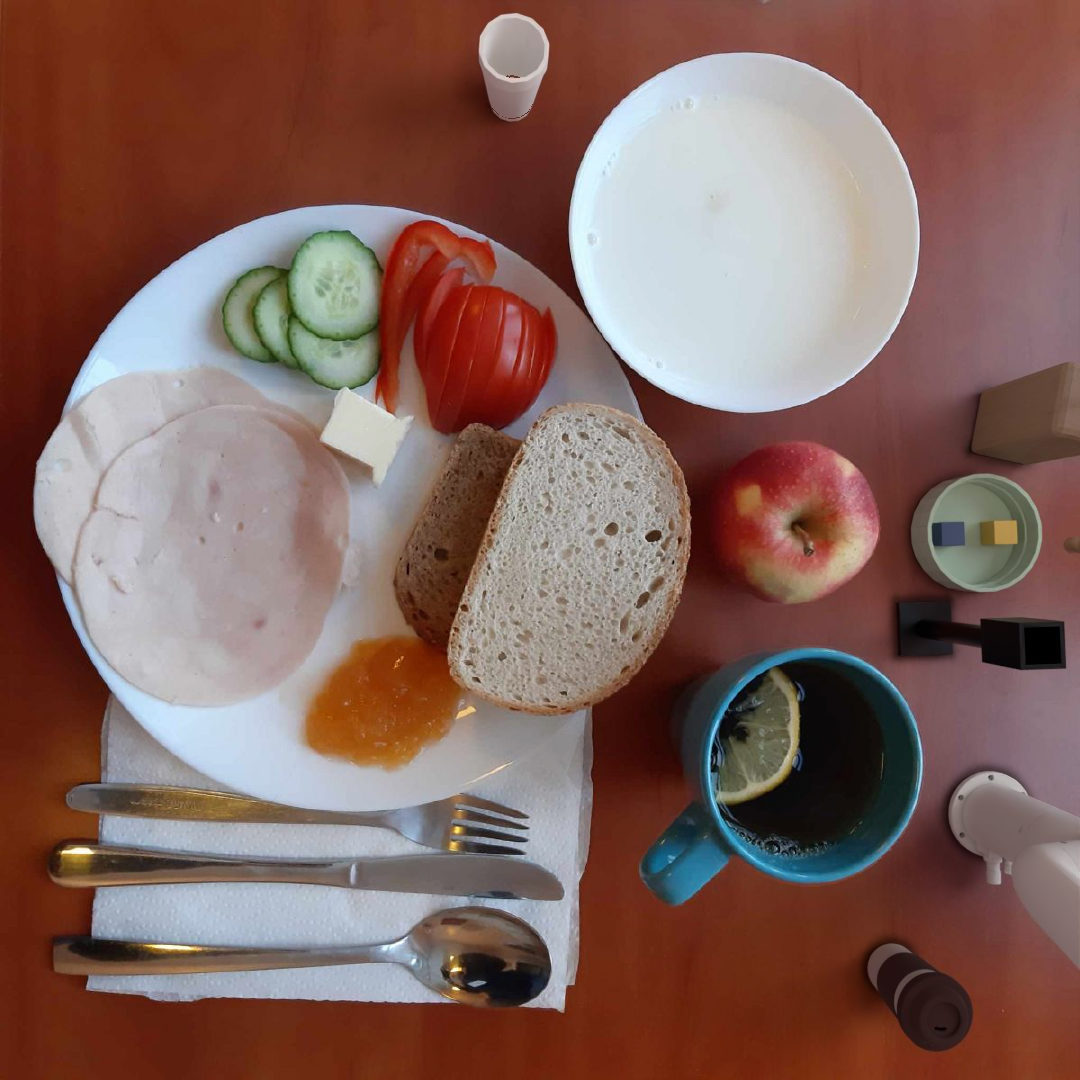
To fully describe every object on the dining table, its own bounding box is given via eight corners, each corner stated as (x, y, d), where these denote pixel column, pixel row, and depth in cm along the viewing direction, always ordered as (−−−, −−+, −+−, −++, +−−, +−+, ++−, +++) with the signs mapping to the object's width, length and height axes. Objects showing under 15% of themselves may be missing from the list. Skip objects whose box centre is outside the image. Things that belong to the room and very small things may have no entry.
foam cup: (471, 119, 126) (469, 68, 113) (489, 61, 126) (490, 4, 114) (532, 140, 127) (538, 91, 114) (550, 82, 127) (558, 27, 114)
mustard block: (1003, 544, 129) (1017, 544, 125) (981, 545, 129) (994, 544, 125) (1002, 521, 129) (1016, 520, 125) (980, 521, 129) (994, 520, 125)
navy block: (952, 545, 128) (965, 545, 125) (929, 546, 128) (942, 546, 125) (951, 522, 128) (964, 521, 125) (928, 523, 128) (941, 522, 125)
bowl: (1020, 589, 130) (1044, 590, 124) (911, 592, 128) (930, 593, 123) (1016, 476, 130) (1039, 472, 124) (906, 478, 129) (925, 474, 123)
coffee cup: (884, 919, 127) (938, 967, 112) (935, 960, 127) (995, 1013, 112) (844, 972, 126) (892, 1028, 111) (894, 1014, 126) (950, 1074, 112)
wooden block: (1029, 466, 130) (1128, 449, 110) (967, 453, 130) (1055, 433, 110) (1040, 403, 131) (1141, 374, 111) (979, 389, 130) (1068, 357, 110)
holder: (949, 653, 129) (1076, 678, 101) (898, 655, 128) (1011, 680, 100) (947, 600, 129) (1073, 610, 101) (896, 602, 128) (1008, 612, 101)
